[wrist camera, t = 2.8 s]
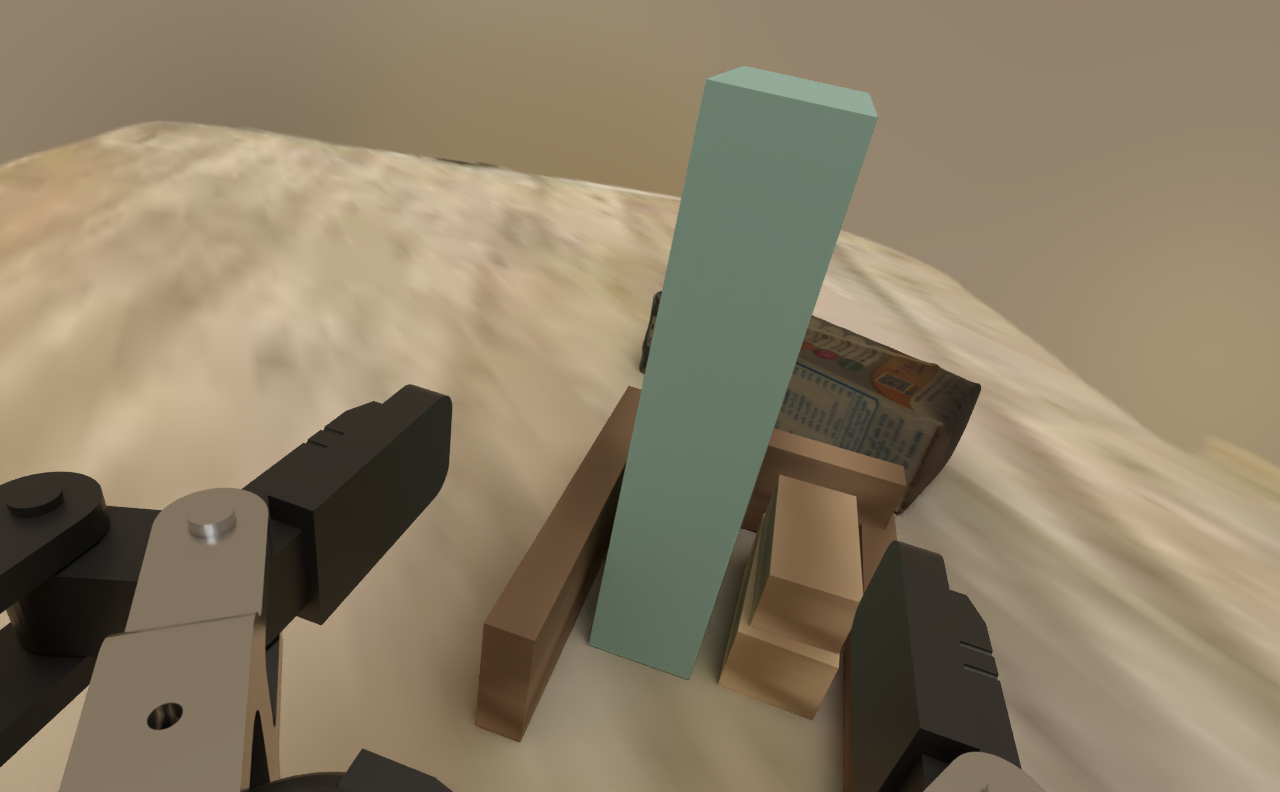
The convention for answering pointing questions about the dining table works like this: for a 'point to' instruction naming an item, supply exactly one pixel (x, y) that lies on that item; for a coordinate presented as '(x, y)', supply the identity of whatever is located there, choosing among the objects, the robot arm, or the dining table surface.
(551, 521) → the frame
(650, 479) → the tall teal pillar
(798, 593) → the offcut top
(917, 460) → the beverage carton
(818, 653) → the offcut low
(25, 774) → the dining table surface
